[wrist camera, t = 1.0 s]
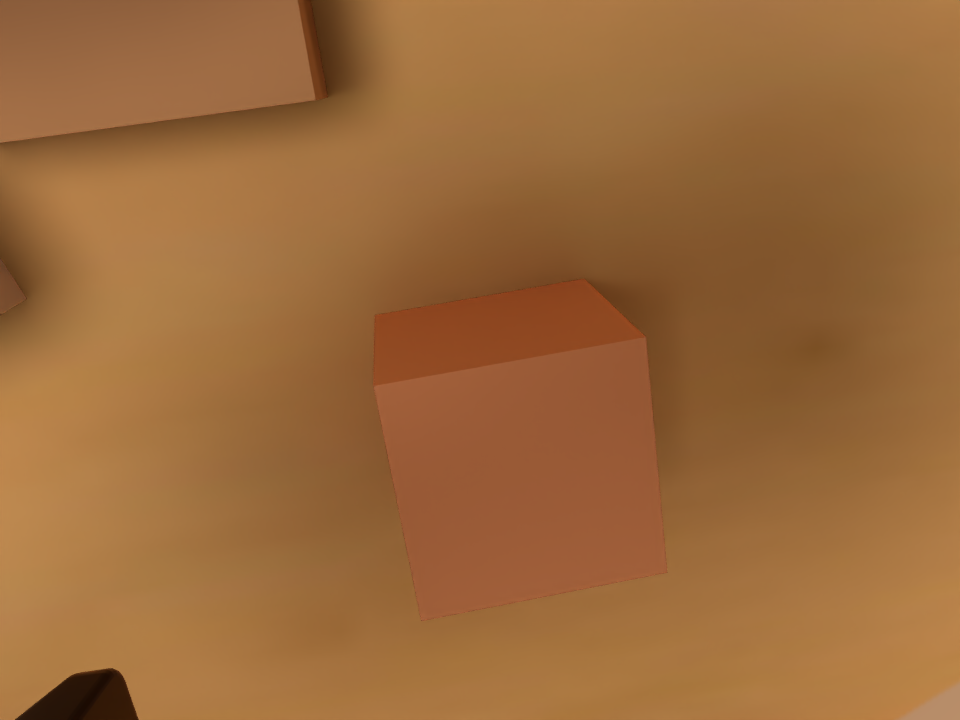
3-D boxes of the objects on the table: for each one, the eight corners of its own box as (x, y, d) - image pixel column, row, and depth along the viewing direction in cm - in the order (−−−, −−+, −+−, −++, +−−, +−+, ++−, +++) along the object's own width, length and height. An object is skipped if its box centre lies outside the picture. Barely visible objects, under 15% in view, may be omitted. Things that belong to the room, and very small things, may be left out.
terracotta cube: (604, 466, 22) (667, 572, 17) (411, 502, 21) (421, 620, 17) (583, 277, 20) (646, 336, 15) (374, 314, 20) (373, 385, 15)
